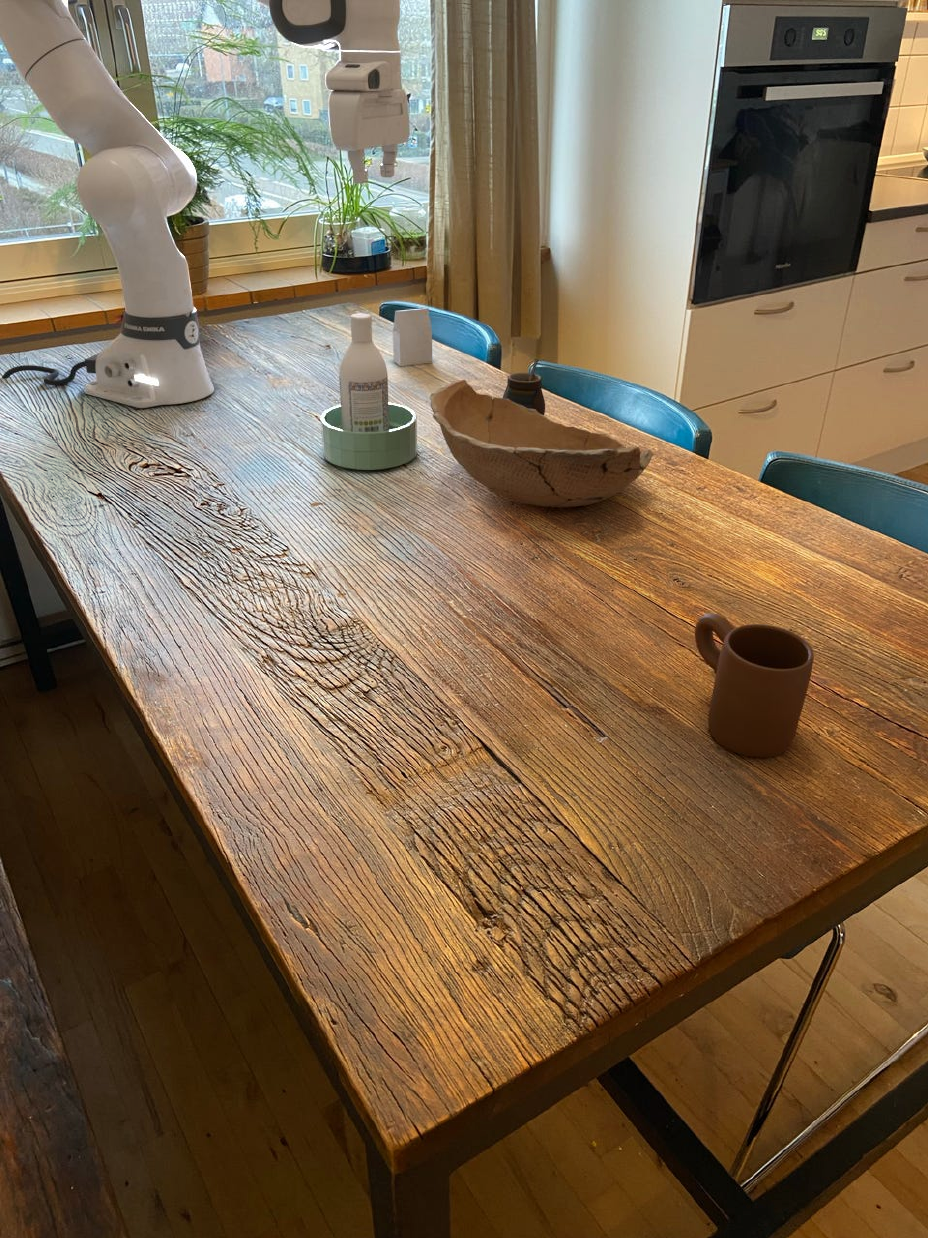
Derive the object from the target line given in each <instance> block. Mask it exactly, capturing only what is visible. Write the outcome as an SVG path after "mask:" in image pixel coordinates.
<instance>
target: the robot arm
mask: <svg viewBox="0 0 928 1238" xmlns="http://www.w3.org/2000/svg"><path fill="white" fill-rule="evenodd" d="M79 1H80V0H0V41H1V42H2V44H3V47H4V48H5V50H6V51H7V53H8V55H9V57H10V59H11V60H12V62H13V64H14V65H15V67H16V68H17V70H18V72H19V73H20V75H21V76H22V78H23V79H24V80H25V82H26V84H27V85H28V86H29V87H30V89H31V90H32V92H33V93H34V95H35V96H36V98H37V99H38V101H39V102H40V103H41V105H42V106H43V108H44V109H45V111H46V112H47V114H48V115H49V117H50V118H51V119H52V121H53V122H54V123H55V125H56V126H57V128H58V130H60V132H62V134H64V135H65V136H66V137H68V138H69V139H71V140H73V141H74V142H75V143H77V144H79V145H80V146H81V147H83V149H85V150H86V151H87V152H88V153H89V154H90V155H91V156H92V157H91V158H89V159H88V160H87V161H85V163H84V164H82V166H81V167H80V169H79V172H78V174H77V178H76V193H77V196H78V199H79V201H80V204H81V206H82V207H83V209H84V211H85V212H86V213H87V214H88V216H90V218H91V219H93V220H94V221H95V222H96V223H97V224H98V225H99V227H100V229H101V230H102V233H103V234H104V235H103V236H105V239H106V240H107V244H108V245H109V248H110V250H111V253H112V256H113V258H114V261H115V263H116V268H117V272H118V277H119V282H120V287H121V292H122V298H123V303H124V308H125V310H124V311H122V312H121V313H120V314H118V315H115V316H113V317H112V318H113V319H116V320H114V321H113V323H114V324H119V323H121V324H120V333H119V334H118V335H117V336H116V337H115V338H114V339H113V340H112V341H111V342H110V343H109V344H108V345H107V346H105V347H104V348H103V349H102V350H101V351H100V352H98V353H95V354H93V355H91V356H90V357H87V358H85V359H84V360H83V361H80V362H78V363H76V364H74V365H73V366H72V367H71V369H70V373H69V375H68V376H67V377H64V378H60V379H56V378H57V377H59V375H60V372H59V370H57V369H55V368H52V367H47V366H41V365H33V364H25V365H16V366H14V367H11V368H9V369H8V370H7V371H5V372H4V373H3V375H2V376H1V379H8V378H10V377H11V376H12V375H14V374H16V373H19V372H24V371H27V372H28V371H30V372H31V371H32V372H33V371H34V372H42V373H46V374H48V375H46V376H44V378H43V379H42V382H43V384H46V385H48V386H63V385H67V384H70V383H71V382H73V381H74V380H75V378H76V374H77V372H78V371H79V370H81V369H82V368H85V370H86V373H87V374H95V379H93V380H91V381H90V382H88V383H87V384H86V385H85V386H84V394H86V395H89V396H92V397H96V398H100V399H104V400H107V401H112V402H115V403H119V404H123V405H126V406H129V407H130V406H131V407H133V408H136V409H137V408H138V409H145V408H146V409H147V408H152V407H157V406H158V407H159V406H164V405H165V406H167V405H169V406H170V405H178V404H185V403H190V402H196V401H199V400H202V399H204V398H206V397H208V396H211V395H212V394H213V393H214V392H215V387H214V384H213V383H212V380H211V377H210V374H209V372H208V369H207V366H206V363H205V359H204V356H203V351H202V348H201V347H202V346H201V343H200V323H199V317H198V312H197V308H196V307H195V306H194V300H193V293H192V286H191V279H190V271H189V264H188V260H187V259H186V257H185V256H184V254H183V253H181V251H179V249H178V247H177V245H176V243H175V240H174V238H173V236H172V233H171V230H170V227H169V224H168V217H171V216H174V215H176V214H178V213H180V212H181V211H182V210H183V209H184V208H185V207H186V206H188V204H190V202H191V201H192V200H193V199H194V197H195V195H196V192H197V189H198V178H197V172H196V169H195V166H194V165H193V163H192V161H191V159H190V158H189V157H188V156H187V155H186V154H185V153H184V152H183V151H181V150H180V149H179V148H178V147H176V146H174V145H173V144H171V143H170V142H169V140H167V139H166V138H164V136H162V134H161V133H160V132H159V130H157V128H155V127H154V125H152V124H151V122H149V120H148V119H147V118H146V117H145V116H144V115H143V114H142V112H140V111H139V110H138V109H137V107H135V105H134V104H133V103H132V102H131V100H129V98H128V97H127V96H126V95H125V93H124V92H123V91H122V89H120V87H119V86H118V84H117V83H116V82H115V80H114V78H113V77H112V75H111V74H110V72H109V71H108V69H107V67H105V65H104V63H103V62H102V61H101V59H100V57H99V56H98V55H97V53H96V52H95V50H94V49H93V47H92V45H91V44H90V42H89V41H88V39H87V38H86V37H85V35H84V33H83V32H82V30H81V29H80V28H79V27H78V25H77V24H76V22H75V20H74V19H73V17H72V14H71V13H70V10H69V6H71V5H76V4H77V3H78V2H79ZM253 1H254V2H256V3H258V4H260V5H262V6H264V7H266V8H268V9H269V14H270V18H271V20H272V24H273V25H274V28H275V29H276V30H277V31H278V33H279V34H280V35H281V36H282V37H283V38H284V39H285V40H287V41H288V42H290V43H291V44H294V45H296V46H297V47H298V46H299V47H302V48H309V49H319V50H322V51H324V52H325V51H326V52H337V51H339V60H337V61H336V63H335V64H334V65H333V66H332V67H331V68H330V69H328V71H326V73H325V75H324V85H325V89H326V90H327V91H331V92H330V93H329V96H328V101H327V103H328V104H327V105H328V108H327V109H328V123H329V133H330V139H331V143H332V145H333V147H334V149H335V150H336V151H344V152H347V160H348V162H349V164H350V167H351V170H352V181H353V183H354V184H358V185H359V184H360V185H361V184H366V183H368V181H369V177H368V176H369V170H368V169H366V166H365V160H364V158H365V157H366V156H365V155H366V153H365V152H366V151H365V150H368V149H375V148H381V152H383V154H382V160H381V164H379V170H380V171H379V174H380V177H382V178H392V177H394V176H395V163H396V159H397V156H398V152H399V151H398V150H399V149H398V144H399V145H400V144H405V143H408V141H409V138H410V133H411V129H410V128H411V127H410V126H411V125H410V111H409V102H408V100H409V99H408V96H407V92H406V91H405V89H403V84H402V57H401V56H402V55H401V53H402V52H401V51H402V50H401V44H400V41H399V33H398V29H399V23H400V18H401V0H253Z"/></svg>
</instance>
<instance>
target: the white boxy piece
mask: <svg viewBox="0 0 928 1238" xmlns="http://www.w3.org/2000/svg"><path fill="white" fill-rule="evenodd" d="M392 355H393V357H392V359H393V362H394V363H395V364H397V365H398V366H399V367H405V366H414V365H423V364H432V363H433V329H432V323H431V317H430V309H429V308H428V307H423V308H414V309H404V310H395V311H394V320H393V326H392Z"/></svg>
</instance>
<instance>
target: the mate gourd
mask: <svg viewBox="0 0 928 1238" xmlns="http://www.w3.org/2000/svg"><path fill="white" fill-rule="evenodd" d="M539 360H540V359H537V358H534V362H533V364H532V367H531V370H530V372H514V373H513V372H512V373H511V374H509V375H507V379H506V380H507V381H506V384H507V385H506V388H505V390H504V392H503V395H502V398H504V399H509V400H511V401H512V402H514V403H517V404H519V405H522V406H524V407H526V408H528V409H535V410H536V411H537V412H538V413H540V414H541V415H543V416H545V413H546V401H545V396H544V393H543V389H542V386H543V383H542V380H543V378H542V376H540V375H539V374H536V373H535V371H536V368H537V365H538V363H539Z"/></svg>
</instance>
